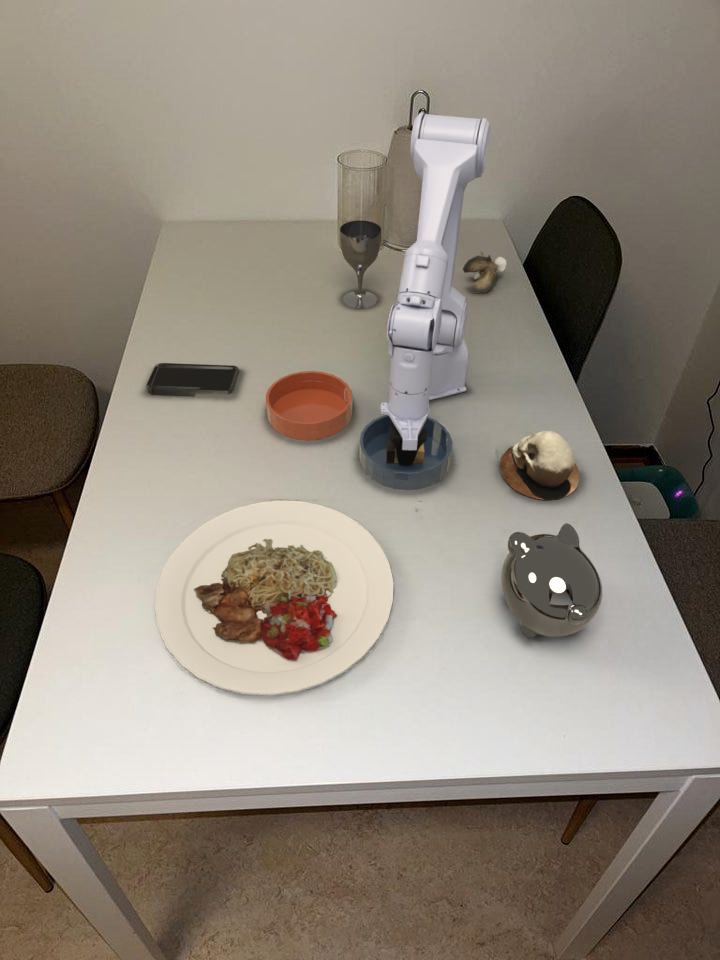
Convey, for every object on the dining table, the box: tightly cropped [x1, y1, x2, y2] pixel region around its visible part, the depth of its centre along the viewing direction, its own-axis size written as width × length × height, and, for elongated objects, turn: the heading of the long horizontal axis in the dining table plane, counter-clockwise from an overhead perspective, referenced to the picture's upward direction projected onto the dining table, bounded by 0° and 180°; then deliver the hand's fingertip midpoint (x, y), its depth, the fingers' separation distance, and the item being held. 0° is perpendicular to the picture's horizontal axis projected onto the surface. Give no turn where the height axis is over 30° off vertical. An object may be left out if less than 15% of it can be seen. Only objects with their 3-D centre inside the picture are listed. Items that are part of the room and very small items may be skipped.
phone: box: [145, 362, 240, 397], centre depth 121 cm, size 8×1×15 cm
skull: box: [499, 430, 581, 501], centre depth 104 cm, size 12×10×10 cm
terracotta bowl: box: [265, 370, 353, 441], centre depth 113 cm, size 14×14×4 cm
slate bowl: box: [358, 414, 454, 491], centre depth 106 cm, size 14×14×4 cm
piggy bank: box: [500, 523, 603, 639], centre depth 83 cm, size 11×15×12 cm
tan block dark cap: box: [386, 439, 424, 464], centre depth 106 cm, size 6×3×3 cm, turn 89°
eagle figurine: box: [462, 250, 507, 294], centre depth 145 cm, size 8×7×9 cm
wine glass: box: [339, 219, 382, 310], centre depth 137 cm, size 8×8×15 cm
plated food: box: [154, 499, 394, 696], centre depth 87 cm, size 30×30×3 cm
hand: (405, 454), depth 106 cm, fingers open, 3 cm apart
